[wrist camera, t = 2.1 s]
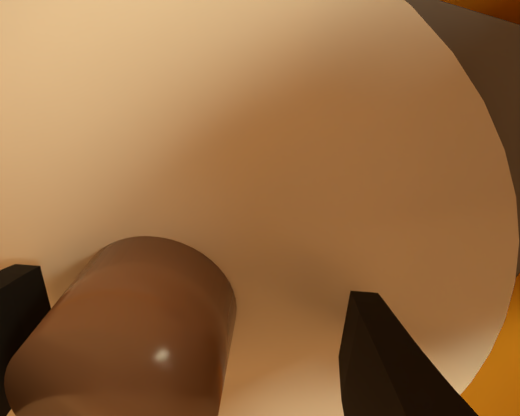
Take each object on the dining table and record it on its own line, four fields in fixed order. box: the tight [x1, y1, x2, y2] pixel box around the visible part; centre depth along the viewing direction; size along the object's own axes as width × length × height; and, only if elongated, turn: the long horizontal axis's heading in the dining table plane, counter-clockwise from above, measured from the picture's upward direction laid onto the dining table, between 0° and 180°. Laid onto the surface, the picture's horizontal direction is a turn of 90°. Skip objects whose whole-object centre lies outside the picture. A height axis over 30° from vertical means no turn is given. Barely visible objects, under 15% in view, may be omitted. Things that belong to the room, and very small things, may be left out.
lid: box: [0, 0, 519, 416], centre depth 9 cm, size 17×17×4 cm
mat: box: [405, 0, 520, 277], centre depth 11 cm, size 15×15×1 cm
